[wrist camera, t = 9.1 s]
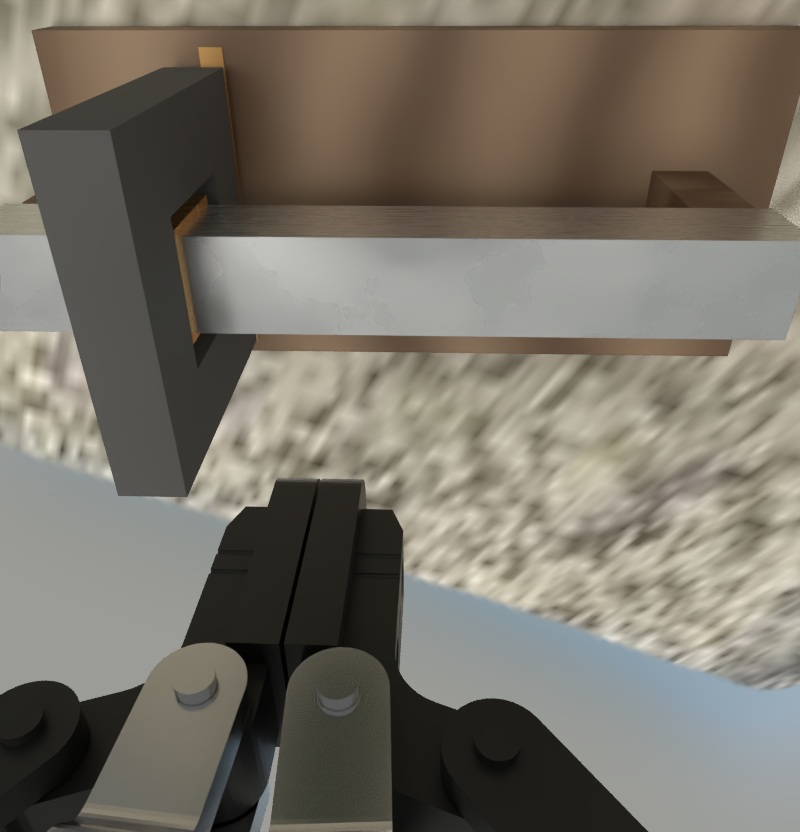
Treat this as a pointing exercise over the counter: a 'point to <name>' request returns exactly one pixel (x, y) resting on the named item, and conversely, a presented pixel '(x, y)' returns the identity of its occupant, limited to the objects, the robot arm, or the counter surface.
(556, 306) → the grey square bar
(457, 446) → the counter surface
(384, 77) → the board
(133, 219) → the dark grey flat piece
